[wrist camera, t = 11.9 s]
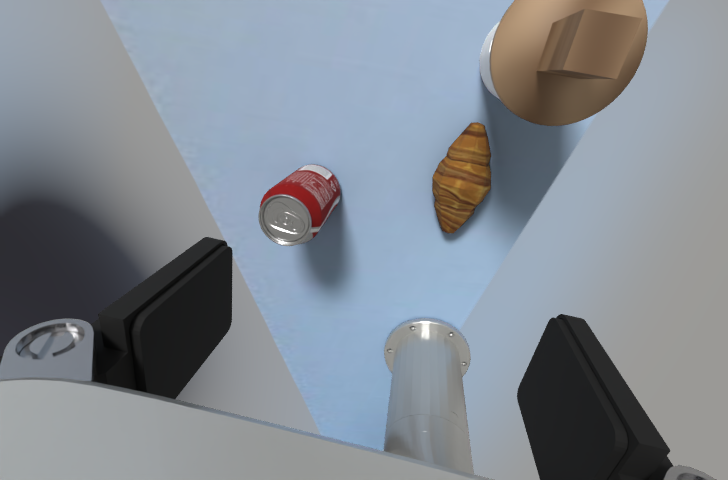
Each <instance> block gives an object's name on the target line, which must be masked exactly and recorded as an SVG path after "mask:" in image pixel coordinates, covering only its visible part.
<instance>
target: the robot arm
mask: <svg viewBox="0 0 728 480" xmlns="http://www.w3.org/2000/svg"><path fill="white" fill-rule="evenodd" d="M98 316H99V319H98V320H96V321H95V322H94V323H92V324H91V325H90V324H89V323H87V322H85V321H82V320H79V319H57V320H52V321H48V322H44V323H40V324H38V325H35V326H32V327H30V328H28V329H26V330H25V331H23V332H21V333H19V334H18V335H16V336H15V337H14V338H13V339H12V340H11V341H10V342H9V343H8V345H7V347H6V348H5V351H4V354H3V356H1V357H0V480H493V479H489V478H485V477H481V476H477V475H474V471H473V465H472V457H471V448H470V439H469V432H468V423H467V415H466V406H465V398H464V390H463V382H462V377H463V375H464V374H465V373H466V372H467V369H468V367H469V364H470V350H469V345H468V343H467V341H466V339H465V338H464V336H463V335H462V333H460V332H459V331H458V330H457V329H456V328H455V327H453V326H451V325H450V324H448V323H445V322H443V321H440V320H436V319H429V318H421V319H414V320H410V321H407V322H405V323H402V324H401V325H399V326H398V327H396V328H395V329H394V330H393V331H392V332H391V333H390V335H389V337H388V338H387V341H386V344H385V350H384V355H385V361H386V364H387V366H388V368H389V370H390V371H391V372H392V380H391V388H390V397H389V406H388V414H387V423H386V432H385V441H384V451H381V450H377V449H373V448H369V447H365V446H361V445H357V444H353V443H349V442H345V441H341V440H337V439H333V438H329V437H325V436H321V435H317V434H313V433H309V432H305V431H301V430H297V429H294V428H289V427H285V426H281V425H277V424H273V423H269V422H265V421H261V420H257V419H253V418H249V417H245V416H241V415H237V414H233V413H229V412H225V411H221V410H216V409H213V408H208V407H205V406H200V405H196V404H192V403H188V402H184V401H180V400H175V399H176V397H177V396H178V395H179V393H180V392H181V391H182V390H183V388H184V387H185V386H186V385H187V383H188V382H189V381H190V379H191V378H192V377H193V376H194V374H195V373H196V372H197V370H198V369H199V368H200V367H201V365H202V364H203V363H204V361H205V360H206V359H207V358H208V356H209V355H210V354H211V353H212V351H213V350H214V349H215V347H216V346H217V345H218V344H219V342H220V341H221V340H222V339H223V337H224V336H225V335H226V333H227V332H228V330H229V328H230V326H231V322H232V321H231V320H232V248H231V247H228V246H227V243H226V242H225V241H223V240H218V239H213V238H209V237H205V238H203V239H202V240H200V241H199V242H198V243H196V244H195V245H193V246H192V247H190V248H189V249H188V250H186V251H185V252H184V253H182V254H181V255H179V256H178V257H177V258H175V259H174V260H172V261H171V262H170V263H168V264H167V265H165V266H164V267H163V268H161V269H160V270H158V271H157V272H156V273H154V274H153V275H152V276H150V277H149V278H147V279H146V280H145V281H143V282H142V283H140V284H139V285H138V286H136V287H135V288H133V289H132V290H131V291H129V292H128V293H126V294H125V295H124V296H122V297H121V298H120V299H118V300H117V301H115V302H114V303H112V304H111V305H110V306H108V307H107V308H105V309H104V310H103V311H102V312H100V313H99V314H98ZM517 399H518V403H519V407H520V410H521V414H522V417H523V421H524V424H525V428H526V432H527V435H528V438H529V442H530V445H531V449H532V453H533V456H534V460H535V463H536V467H537V470H538V474H539V477H540V480H716V479H714V478H713V477H711V476H709V475H707V474H706V473H704V472H701V471H699V470H696V469H694V468H691V467H686V466H681V465H678V466H673V465H672V463H671V462H670V460H669V459H668V457H667V454H668V453H669V452H670V449H669V448H668V446H667V445H666V443H665V442H664V440H663V438H662V437H661V436H660V434H659V432H658V431H657V429H656V428H655V426H654V425H653V423H652V422H651V420H650V419H649V417H648V416H647V414H646V413H645V411H644V410H643V408H642V407H641V405H640V404H639V402H638V400H637V399H636V397H635V396H634V394H633V393H632V391H631V390H630V388H629V387H628V385H627V384H626V382H625V381H624V379H623V378H622V376H621V374H620V373H619V371H618V370H617V368H616V367H615V365H614V364H613V362H612V361H611V359H610V358H609V356H608V355H607V353H606V352H605V350H604V349H603V347H602V346H601V344H600V342H599V341H598V340H597V338H596V337H595V335H594V333H593V332H592V330H591V329H590V327H589V326H588V324H587V323H586V321H585V320H584V319H581V318H577V317H572V316H568V315H563V314H560V315H559V316H557V318H551V319H550V320H549V322H548V324H547V326H546V328H545V331H544V333H543V335H542V337H541V339H540V342H539V344H538V346H537V348H536V350H535V353H534V355H533V357H532V359H531V361H530V364H529V366H528V368H527V371H526V372H525V374H524V377H523V379H522V381H521V383H520V386H519V388H518V393H517Z"/></svg>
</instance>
